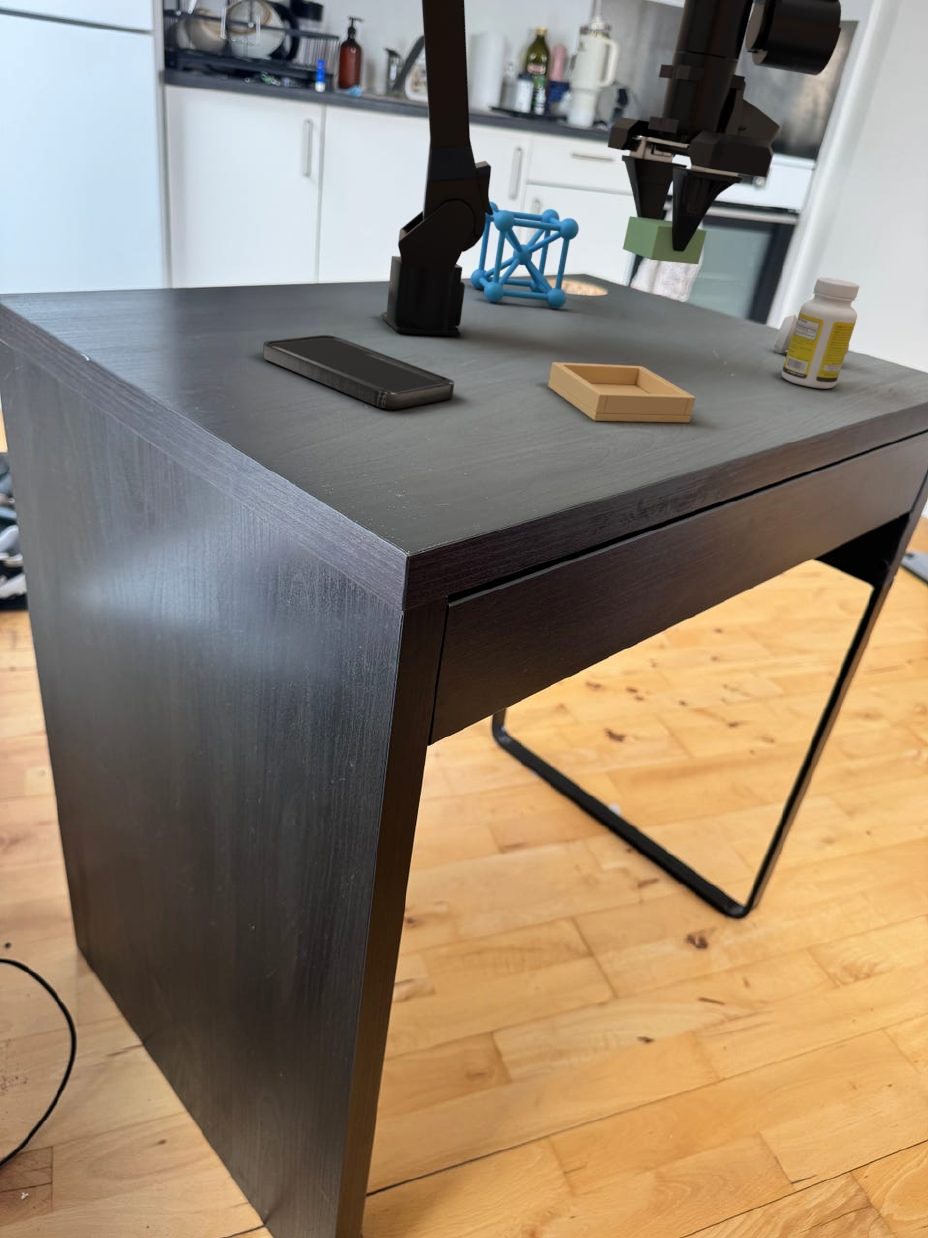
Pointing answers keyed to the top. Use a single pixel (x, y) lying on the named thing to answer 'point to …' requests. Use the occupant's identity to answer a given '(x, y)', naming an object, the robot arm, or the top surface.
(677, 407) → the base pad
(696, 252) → the green pad
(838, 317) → the supplement bottle
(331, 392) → the top surface
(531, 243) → the molecular structure
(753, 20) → the robot arm
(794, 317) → the smooth white sculpture
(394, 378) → the phone
